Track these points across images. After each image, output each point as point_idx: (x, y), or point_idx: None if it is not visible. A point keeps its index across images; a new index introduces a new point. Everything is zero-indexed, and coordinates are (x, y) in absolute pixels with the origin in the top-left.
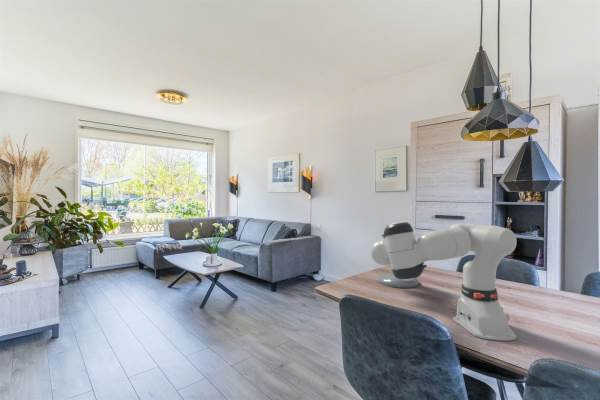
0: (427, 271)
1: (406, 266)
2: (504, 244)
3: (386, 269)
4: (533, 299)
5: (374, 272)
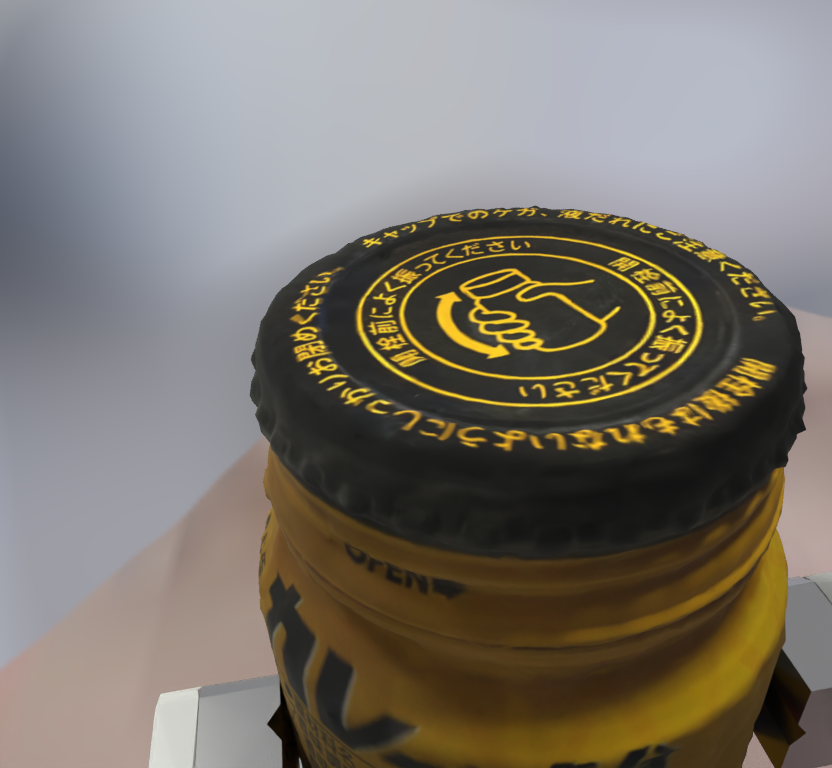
0: None
1: None
2: None
3: None
4: None
5: (140, 610)
